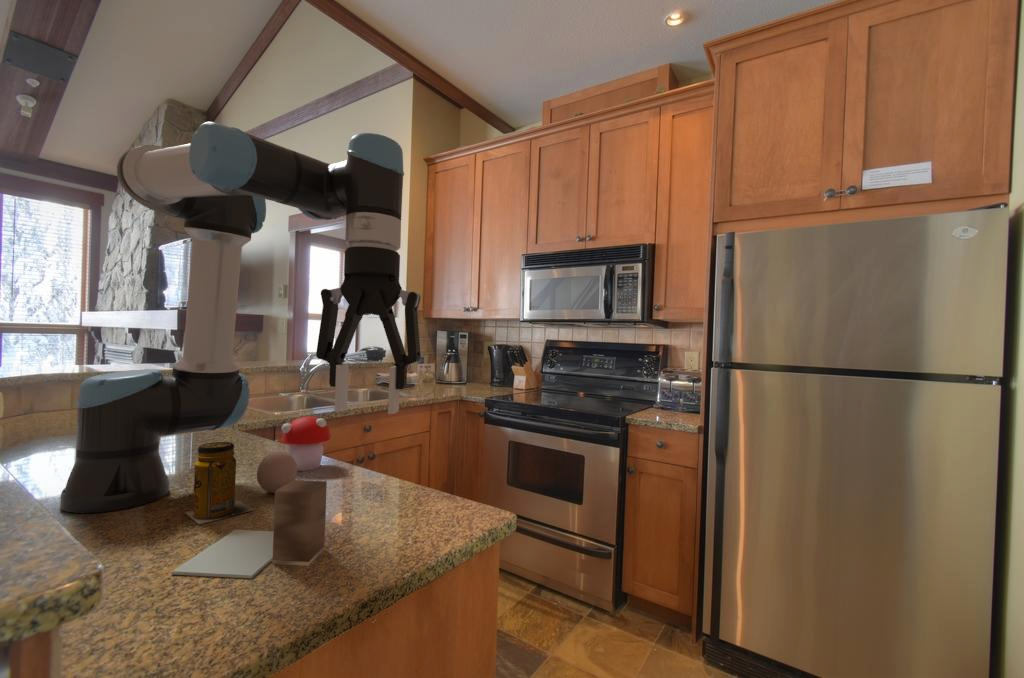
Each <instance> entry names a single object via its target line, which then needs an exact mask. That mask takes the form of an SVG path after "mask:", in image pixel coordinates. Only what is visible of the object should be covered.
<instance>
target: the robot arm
mask: <svg viewBox="0 0 1024 678" xmlns="http://www.w3.org/2000/svg"><path fill="white" fill-rule="evenodd" d="M347 148H348V149H347V152H346V154H347V158H346V159H343V160H340V161H337V162H334V163H326V162H324V161H322V160H319V159H317V158H313V157H311V156H309V155H306V154H303V153H300V152H299V151H296V150H292V149H290V148H287V147H284V146H281V145H279V144H276V143H274V142H270V141H268V140H265V139H263V138H261V137H258V136H255V135H253V134H250V133H248V132H245V131H244V130H243V131H242V129H240V128H237V127H233V126H232V127H231V126H226V125H224V124H220V123H218V122H214V121H206V122H204V123H201V124H200V125H199V126H198V129H197V130H195V132H194V133H193V135H192V138H191V141H190V143H186V144H180V145H175V146H170V147H164V146H160V145H154V144H143V145H139V146H135V147H133V148H130V149H128V150H126V151H125V152H124V153H123V154H122V155H121V156H120V158H119V160H118V162H117V165H116V173H117V179H118V181H119V184H120V186H121V187H122V189H123V190H124V192H125V193H127V194H128V195H129V197H131V198H132V199H133V200H134V201H136V202H137V203H138V204H140V205H141V206H144V207H145V208H147V209H149V210H151V211H154V212H156V213H159V214H162V215H166V216H169V217H174V218H178V219H182V220H183V221H184V223H183V230H184V231H185V233H187V235H188V236H189V237H190V239H191V240H192V241H191V242H192V243H191V254H190V263H189V264H190V266H189V278H188V279H189V280H188V291H187V303H186V316H185V325H184V326H185V329H184V340H183V350H182V351H183V354H182V358H181V359H179V360H178V361H177V362H175V363H174V364H173V365H172V373H171V374H172V375H167V376H165V375H163V372H162V371H161V370H160V369H155V368H146V369H145V368H144V369H134V370H133V369H132V370H123V371H116V372H115V371H114V372H108V373H102V374H98V375H93V376H90V377H88V378H86V379H85V380H83V381H82V382H81V384H80V385H79V388H78V394H77V395H78V397H77V401H76V404H75V406H76V409H77V415H76V446H75V447H76V450H75V451H76V452H75V462H74V464H73V466H72V469H71V472H70V474H69V476H68V478H67V479H68V480H67V482H66V485H65V487H64V488H63V490H62V491H61V493H60V501H59V502H60V504H59V505H60V506H59V507H60V509H61V510H62V511H65V512H69V513H76V514H77V513H81V514H82V513H83V514H90V513H91V514H92V513H94V514H95V513H102V512H111V511H118V510H123V509H130V508H134V507H138V506H141V505H145V504H148V503H151V502H154V501H157V500H159V499H161V498H163V497H164V496H166V495H167V494H168V493H169V490H170V489H169V488H170V480H169V477H168V475H167V474H166V473H167V472H166V469H165V466H164V464H163V461H162V458H161V455H160V439H161V438H160V437H166V436H173V435H180V434H181V435H182V434H188V433H198V432H204V431H210V432H211V431H216V430H219V429H225V428H230V427H232V426H234V425H236V424H237V423H239V421H240V420H242V418H243V417H244V415H245V414H246V411H247V409H248V406H249V401H250V395H251V391H250V388H249V381H248V380H249V379H247V377H246V375H244V374H242V373H240V369H241V368H240V365H238V364H237V363H236V362H235V361H234V360H233V355H234V354H233V353H234V352H233V351H234V343H235V342H234V341H235V334H236V333H235V331H236V330H235V329H236V319H237V309H238V308H237V307H238V296H239V287H240V286H239V285H240V283H239V282H240V274H241V273H240V272H241V261H242V251H243V247H244V246H245V245H246V244H248V243H249V242H251V241H252V234H255V233H258V232H259V231H261V230H262V228H263V227H264V222H265V220H266V216H267V202H266V200H267V201H271V202H275V203H279V204H281V205H285V206H289V207H292V208H295V209H298V210H299V211H300V212H301V213H302V214H304V215H305V217H307V218H310V219H312V220H317V221H319V220H320V221H321V220H326V221H328V220H329V221H330V220H335V219H339V218H341V217H345V236H344V238H345V244H346V245H347V246H348V247H347V248H346V249H345V250H344V261H343V263H344V265H343V268H344V269H343V277H344V279H343V282H342V284H341V285H340V287H337V288H332V289H327V288H323V289H322V290H321V291H320V296H321V297H320V298H321V301H322V312H321V317H320V318H321V319H320V325H319V333H318V339H317V345H316V346H317V347H316V353H315V356H316V358H317V359H318V360H322V361H325V362H327V363H328V364H329V381H328V383H329V385H330V387H332V388H334V390H335V391H334V412H336V413H337V412H339V413H340V412H343V411H346V410H348V404H349V403H348V402H349V401H348V399H349V372H350V371H349V369H350V365H349V363H345V362H346V359H345V358H346V356H347V353H348V351H349V349H350V346H351V343H352V341H353V339H354V337H355V333H356V331H357V328H358V325H359V323H360V322H361V320H362V319H363V316H368V315H373V316H374V315H375V316H378V317H379V319H380V321H381V323H382V326H383V329H384V333H385V336H386V339H387V341H388V345H389V348H390V351H391V354H392V358H393V360H394V364H393V366H390V367H389V376H388V377H389V378H388V381H389V382H388V404H387V405H388V406H387V414H388V415H394V414H396V413H398V412H399V411H400V390H405V389H406V387H407V382H408V381H407V379H408V377H407V376H408V367H409V366H410V365H411V364H414V363H417V362H419V361H420V360H421V359H422V357H421V356H422V355H421V346H420V345H421V343H420V331H419V327H420V326H419V316H418V309H419V304H420V301H421V295H420V294H419V293H417V292H415V291H406V290H403V288H402V287H401V284H400V269H401V268H400V265H401V264H400V263H401V255H400V254H399V253H400V252H398V251H399V250H400V249H401V243H402V241H401V238H402V237H401V234H402V211H403V210H402V209H403V206H402V205H403V186H404V185H403V184H404V176H405V172H404V152H403V149H402V146H401V145H400V144H399V142H397V141H396V140H395V139H392V138H390V137H388V136H385V135H382V134H380V133H379V134H378V133H374V132H373V133H371V132H364V133H363V132H361V133H358V134H357V133H356V134H355V135H353V136H351V139H349V142H348V147H347ZM342 297H343V298H344V299H345V301H346V302H347V304H348V306H347V309H346V311H345V313H344V320H343V322H342V325H341V327H340V329H339V333H338V335H337V337H336V339H335V336H336V335H335V334H336V328H337V321H338V314H339V304H340V303H341V301H342ZM399 299H401V304H402V305H403V306H404V318H405V331H406V332H405V333H406V345H407V346H406V348H407V349H405V346H404V344H403V340H402V337H401V334H400V332H399V327H398V325H397V322H396V316H395V314H394V313H395V312H394V310H393V308H394V306H395V304H396V303H397V302H398V300H399ZM406 350H407V354H406Z"/></svg>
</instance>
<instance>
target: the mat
mask: <svg viewBox="0 0 1024 678" xmlns="http://www.w3.org/2000/svg"><path fill="white" fill-rule="evenodd" d="M273 535H274V530H273V531H271V530H253V529H251V530H250V529H249V530H247V529H234V530H233V531H231V532H230V533H228V534H226V535H225V536H223V537H222V538H220V539H219V540H216V542H215V543H213V544H211V545H210V546H208V547H207V548H205V549H204V550H202V551H201V552H199V553H198V554H196V555H193V557H191V558H190V559H188V560H187V561H185V562H184V563H182V564H181V565H179V566H178V567H176V568H175V569H173V570H172V571H171V575H177V576H178V575H179V576H193V577H194V576H195V577H216V578H217V577H219V578H220V577H221V578H233V579H236V578H237V579H253V578H254V577H256V575H258V574H259V573H260V572H261V571H262V570H263V569H264V568H265V567H266V566H268V565H269V564H271V562H273Z"/></svg>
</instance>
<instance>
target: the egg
mask: <svg viewBox="0 0 1024 678" xmlns="http://www.w3.org/2000/svg"><path fill="white" fill-rule="evenodd" d="M256 471H257V472H256V480H257V483H258V485H259V486H260V488H262V490H264V491H265V492H268V493H271V494H275V491H276V490H278V489H279V488H281V487H283V486H284V485H286V484H288V483H289V482H291V481H293V480H297V477H298V471H297V464H296V461H295V460H294V458H293V457H292V455H291V454H290V453H288V452H287V451H286V450H283V449H276V450H273V451H270V452H269V453H267V454H266V455H265V456H264V457H263V459H262V460H261V461H260V463H259V465H258V468H257V470H256Z"/></svg>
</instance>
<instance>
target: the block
mask: <svg viewBox="0 0 1024 678" xmlns="http://www.w3.org/2000/svg"><path fill="white" fill-rule="evenodd" d="M327 482H328V481H325V480H306V479H305V480H302V479H295V480H293V481H291V482H289V483H288V484H286V485H284V486H283V487H281V488H279V489H278V490H276V491H275V493H274V511H273V512H274V513H273V532H274V535H273V560H272V565H283V566H284V565H287V566H288V565H289V566H290V565H291V566H305V567H306V566H310V565H311V564H312V562H314V560H316V558H317V557H318V556H320V554H321V553H323V551H324V550H325V546H326V545H325V543H326V542H325V541H326V513H327V512H326V510H327V509H326V508H327V487H328V486H327V484H328V483H327Z"/></svg>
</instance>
